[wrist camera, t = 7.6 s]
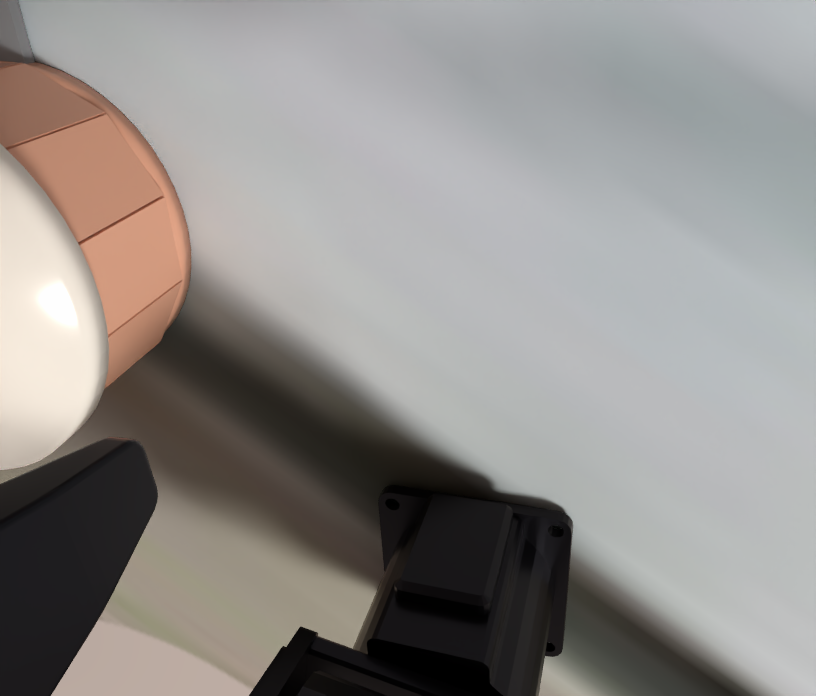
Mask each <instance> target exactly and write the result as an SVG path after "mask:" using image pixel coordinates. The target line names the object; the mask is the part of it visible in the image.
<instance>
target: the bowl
mask: <svg viewBox="0 0 816 696" xmlns="http://www.w3.org/2000/svg"><path fill="white" fill-rule="evenodd" d="M0 144H1V145H2V146H3V147H4V148H5V149H6V150H7V151H8V152H9V153H10V154H11V155H12V156H13V157H14V158H15V159H16V160H17V161H18V162H19V163H20V164H21V165H22V166H23V167H24V168H25V169H26V170H27V171H28V172H29V174H30V175H31V176H32V177H33V178H34V180H35V181H36V182H37V183H38V184H39V186H40V187H41V188H42V189H43V190H44V191H45V193H46V194H47V196H48V197H49V198H50V200H51V201H52V203H53V204H54V206H55V207H56V208H57V210H58V211H59V213H60V214H61V215H62V217H63V218H64V220H65V222H66V223H67V225H68V227H69V229H70V230H71V232H72V234H73V235H74V237H75V239H76V241H77V242H78V244H79V246H80V248H81V250H82V252H83V254H84V257H85V259H86V261H87V263H88V265H89V268H90V270H91V272H92V274H93V277H94V280H95V283H96V286H97V289H98V292H99V295H100V298H101V301H102V305H103V310H104V314H105V319H106V323H107V331H108V342H109V364H108V374H107V379H106V383H105V388H106V387H108V386H109V385H110V384H111V383H112V382H114V381H115V380H116V379H117V378H118V377H119V376H121V375H122V374H123V373H124V372H125V371H126V370H128V369H129V368H130V367H131V366H132V365H134V364H135V363H136V362H137V361H138V360H139V359H141V358H142V357H143V356H144V355H145V354H147V353H148V352H149V351H150V350H151V349H152V348H154V347H155V346H156V345H157V344H158V343H159V342H160V341H161V340H162V337H163V334H164V332H165V331H166V330H167V329H168V328H169V327H170V326H171V325H172V323H173V322H174V320H175V319H176V318H177V316H178V315H179V313H180V310H181V308H182V306H183V304H184V302H185V299H186V295H187V291H188V288H189V283H190V275H191V246H190V239H189V232H188V227H187V223H186V220H185V216H184V212H183V208H182V206H181V203H180V201H179V198H178V195H177V193H176V190H175V188H174V186H173V184H172V182H171V180H170V178H169V176H168V174H167V172H166V170H165V168H164V166H163V165H162V163H161V161H160V160H159V158H158V157H157V155H156V154H155V152H154V150H153V149H152V147H151V146H150V145H149V143H148V142H147V141H146V140H145V138H144V137H143V136H142V134H141V133H140V132H139V131H138V129H137V128H136V127H135V126H134V125H133V124H132V123H131V122H130V121H129V120H128V119H127V118H126V117H125V116H124V114H123V113H122V112H121V111H120V110H118V109H117V108H116V107H115V106H114V105H113V104H111V103H110V102H109V101H108V100H107V99H106V98H105V97H103V96H102V95H101V94H99V93H98V92H96V91H95V90H93V89H92V88H91V87H89V86H88V85H86V84H85V83H83V82H82V81H80V80H78V79H76V78H74V77H72V76H70V75H68V74H67V73H65V72H63V71H60V70H57V69H55V68H52V67H50V66H47V65H44V64H41V63H36V62H34V63H29V64H25V63H24V64H23V63H17V62H9V61H0ZM105 388H104V389H105Z"/></svg>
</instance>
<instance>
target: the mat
mask: <svg viewBox="0 0 816 696" xmlns="http://www.w3.org/2000/svg"><path fill="white" fill-rule="evenodd" d="M0 61H9V62H17V63H23V64H24V63H25V64H29V63H34V62H35V61H34V57H33V53H32V50H31V46H30V43H29V39H28V35H27V32H26V28H25V25H24V21H23V17H22V14H21V10H20V6H19V3H18V0H0Z"/></svg>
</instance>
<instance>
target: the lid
mask: <svg viewBox="0 0 816 696" xmlns="http://www.w3.org/2000/svg"><path fill="white" fill-rule="evenodd" d="M108 364H109V342H108V331H107V323H106V319H105V314H104V310H103V305H102V301H101V298H100V295H99V292H98V289H97V286H96V283H95V280H94V277H93V274H92V272H91V270H90V268H89V265H88V263H87V261H86V259H85V257H84V254H83V252H82V250H81V248H80V246H79V244H78V242H77V241H76V239H75V237H74V235H73V234H72V232H71V230H70V229H69V227H68V225H67V223H66V222H65V220H64V218H63V217H62V215H61V214H60V213H59V211H58V210H57V208H56V207H55V206H54V204H53V203H52V201H51V200H50V198H49V197H48V196H47V194H46V193H45V191H44V190H43V189H42V188H41V187H40V186H39V184H38V183H37V182H36V181H35V180H34V178H33V177H32V176H31V175H30V174H29V172H28V171H27V170H26V169H25V168H24V167H23V166H22V165H21V164H20V163H19V162H18V161H17V160H16V159H15V158H14V157H13V156H12V155H11V154H10V153H9V152H8V151H7V150H6V149H5V148H4V147H3V146H2V145H1V144H0V470H8V469H13V468H19V467H24V466H27V465H30V464H32V463H35V462H38V461H40V460H42V459H43V458H45V457H46V456H48V455H49V454H51V453H53V452H54V451H55V450H56V449H57V448H58V447H60V446H61V445H62V444H63V443H64V442H65V441H66V440H67V439H69V438H70V437H71V436H72V435H73V434H74V433H75V432H77V431H78V430H79V429H80V428H81V427H82V426H83V425H84V424H85V423H86V422H87V421H88V420H89V418H90V417H91V415H92V414H93V412H94V411H95V409H96V408H97V406H98V404H99V401H100V399H101V396H102V394H103V391H104V388H105V383H106V379H107V374H108Z"/></svg>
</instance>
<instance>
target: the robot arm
mask: <svg viewBox="0 0 816 696" xmlns="http://www.w3.org/2000/svg"><path fill="white" fill-rule="evenodd" d="M157 498H158V492H157V486H156V483H155V480H154V477H153V474H152V471H151V468H150V465H149V462H148V459H147V456H146V453H145V450H144V448H143V446H142V445H141V444H140V443H139V441H136V440H134V439H127V438H118V437H107V438H104V439H102V440H99V441H97V442H95V443H92V444H90V445H88V446H86V447H83V448H81V449H79V450H77V451H74V452H72V453H70V454H67V455H65V456H63V457H61V458H58V459H56V460H54V461H52V462H49V463H47V464H45V465H42V466H40V467H38V468H36V469H33V470H31V471H29V472H27V473H24V474H22V475H20V476H17V477H15V478H13V479H11V480H8V481H6V482H4V483H2V484H0V696H51V694H52V693H53V691H54V690H55V688H56V686H57V685H58V683H59V682H60V680H61V678H62V677H63V675H64V674H65V672H66V670H67V669H68V667H69V666H70V664H71V662H72V661H73V659H74V658H75V656H76V655H77V653H78V651H79V650H80V648H81V647H82V645H83V643H84V642H85V640H86V639H87V637H88V635H89V634H90V632H91V631H92V629H93V627H94V626H95V624H96V622H97V621H98V619H99V617H100V616H101V614H102V612H103V610H104V608H105V607H106V605H107V603H108V601H109V599H110V597H111V595H112V593H113V591H114V589H115V587H116V585H117V583H118V581H119V579H120V577H121V575H122V573H123V572H124V570H125V568H126V566H127V564H128V562H129V560H130V558H131V556H132V554H133V552H134V550H135V548H136V546H137V544H138V542H139V540H140V538H141V536H142V534H143V532H144V530H145V528H146V526H147V524H148V522H149V520H150V518H151V516H152V514H153V512H154V510H155V507H156V503H157ZM391 498H392V499H395V500H396V501H398V502H394V501H392V500H391ZM379 514H380V525H381V537H382V548H383V560H384V571H385V574H384V576H383V578H382V581H381V583H380V585H379V588H378V590H377V592H376V595H375V597H374V600H373V602H372V604H371V607H370V609H369V611H368V614H367V616H366V618H365V621H364V623H363V626H362V628H361V630H360V633H359V635H358V637H357V640H356V642H355V645H354V647H353V649H352V648H349V647H346V646H344V645H341V644H338V643H335V642H332V641H330V640H327V639H324V638H321V637H319V636H318V633H317V632H314V631H312V630H309V629H306V628H303V627H300V628H299V629H298V631H297V632H296V634H295V635H294V637H293V638H292V640H291V641H290V642H289V644H288V645H287V647H285V646H283V647H282V648H281V649H280V651H279V652H278V654H277V655H276V657H275V658H274V660H273V661H272V663H271V664H270V666H269V667H268V668H267V670H266V671H265V673H264V674H263V676H262V677H261V679H260V680H259V682H258V683H257V685H256V686H255V687H254V689H253V690H252V692H251V693H250V695H249V696H538V695H539V689H540V683H541V676H542V670H543V664H544V658H545V656H551V657H554V656H558V655H559V654H561V652H562V649H563V641H564V630H565V618H566V606H567V593H568V581H569V569H570V557H571V545H572V533H573V522H572V520H571V518H570V517H569V516H568V515H566V514H565V513H562V512H559V511H554V510H547V509H541V508H535V507H528V506H522V505H516V504H509V503H503V502H497V501H491V500H484V499H478V498H472V497H465V496H459V495H453V494H446V493H440V492H434V491H427V490H421V489H415V488H408V487H402V486H396V485H390V486H387V487H385V488H384V490H383V491H382V493H381V495H380V497H379ZM552 525H557V526H560V527H561V528H562V529H556V528H553V527H552ZM549 642H550V643H549Z"/></svg>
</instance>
